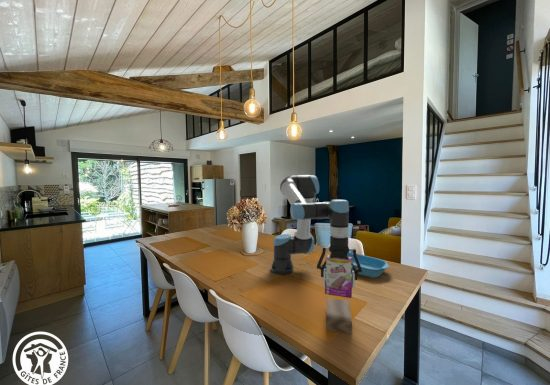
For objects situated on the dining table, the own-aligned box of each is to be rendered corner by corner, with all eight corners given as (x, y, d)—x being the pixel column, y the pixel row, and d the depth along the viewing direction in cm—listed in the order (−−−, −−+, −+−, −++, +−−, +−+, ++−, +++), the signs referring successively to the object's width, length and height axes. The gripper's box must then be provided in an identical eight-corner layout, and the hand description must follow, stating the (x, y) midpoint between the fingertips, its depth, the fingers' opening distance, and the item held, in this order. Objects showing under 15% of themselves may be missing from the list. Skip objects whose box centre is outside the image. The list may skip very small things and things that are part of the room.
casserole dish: (393, 271, 152) (393, 261, 152) (381, 283, 136) (382, 271, 135) (341, 258, 177) (341, 249, 177) (326, 267, 161) (326, 257, 160)
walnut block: (326, 329, 95) (326, 318, 94) (326, 308, 110) (327, 298, 110) (351, 333, 92) (352, 321, 92) (348, 310, 108) (349, 300, 108)
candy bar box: (324, 294, 100) (324, 257, 99) (326, 289, 105) (326, 253, 103) (352, 299, 96) (352, 260, 95) (352, 293, 101) (352, 256, 100)
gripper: (310, 236, 98) (310, 286, 99) (370, 239, 92) (369, 292, 94) (311, 232, 105) (311, 279, 107) (367, 235, 100) (366, 284, 101)
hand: (338, 285), depth 100 cm, fingers closed on candy bar box, 11 cm apart
